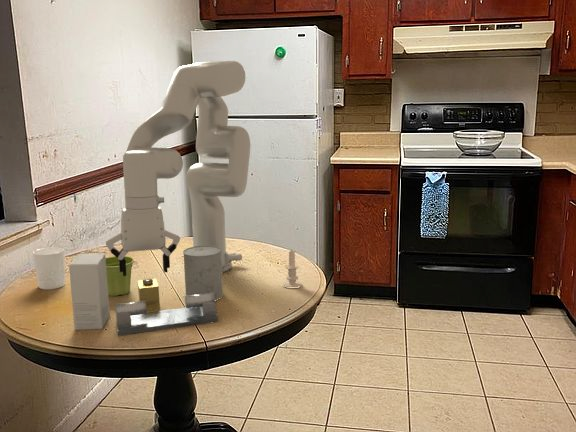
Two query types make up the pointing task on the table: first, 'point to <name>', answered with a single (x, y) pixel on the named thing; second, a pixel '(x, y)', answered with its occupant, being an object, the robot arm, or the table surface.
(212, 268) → the grey can
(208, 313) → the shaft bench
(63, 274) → the white cup
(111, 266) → the plant pot
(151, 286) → the coupler
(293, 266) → the candle
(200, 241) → the robot arm
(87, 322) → the skincare box
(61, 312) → the table surface
